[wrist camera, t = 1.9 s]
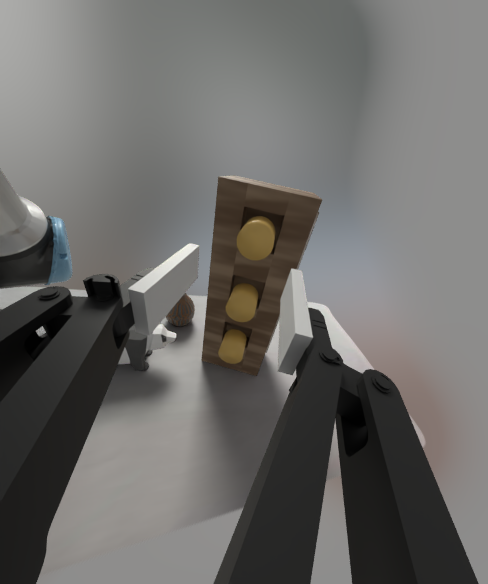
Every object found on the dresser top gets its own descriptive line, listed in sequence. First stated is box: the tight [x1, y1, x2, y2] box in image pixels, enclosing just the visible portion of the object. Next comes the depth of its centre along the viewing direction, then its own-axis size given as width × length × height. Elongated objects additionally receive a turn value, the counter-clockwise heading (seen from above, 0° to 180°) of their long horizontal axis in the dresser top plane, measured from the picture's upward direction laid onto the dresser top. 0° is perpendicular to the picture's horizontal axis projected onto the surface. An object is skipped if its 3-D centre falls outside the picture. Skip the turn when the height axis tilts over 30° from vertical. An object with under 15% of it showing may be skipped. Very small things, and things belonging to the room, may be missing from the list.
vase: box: [166, 293, 195, 326], centre depth 47 cm, size 7×7×9 cm
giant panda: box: [118, 324, 177, 371], centre depth 36 cm, size 15×6×10 cm, turn 101°
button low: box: [218, 329, 247, 364], centre depth 33 cm, size 4×4×4 cm
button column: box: [202, 176, 322, 376], centre depth 34 cm, size 8×13×34 cm, turn 79°
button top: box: [237, 216, 275, 260], centre depth 22 cm, size 4×4×4 cm
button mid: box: [226, 283, 258, 322], centre depth 27 cm, size 4×4×4 cm
